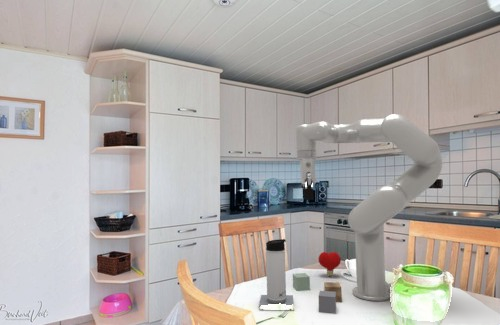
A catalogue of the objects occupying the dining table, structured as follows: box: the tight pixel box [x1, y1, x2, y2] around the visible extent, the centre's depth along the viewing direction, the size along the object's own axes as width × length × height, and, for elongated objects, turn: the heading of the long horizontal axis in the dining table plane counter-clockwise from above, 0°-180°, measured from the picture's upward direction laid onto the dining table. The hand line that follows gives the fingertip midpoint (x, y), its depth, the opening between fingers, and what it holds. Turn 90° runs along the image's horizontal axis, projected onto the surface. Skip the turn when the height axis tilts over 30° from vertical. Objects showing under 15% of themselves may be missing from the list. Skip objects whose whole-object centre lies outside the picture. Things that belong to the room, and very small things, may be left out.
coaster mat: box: [258, 294, 295, 307], centre depth 105 cm, size 11×11×1 cm
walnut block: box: [323, 281, 343, 303], centre depth 108 cm, size 5×5×5 cm
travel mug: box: [265, 238, 287, 304], centre depth 106 cm, size 6×7×20 cm
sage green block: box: [292, 272, 311, 292], centre depth 120 cm, size 5×5×5 cm
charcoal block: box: [318, 290, 337, 315], centre depth 100 cm, size 5×5×5 cm
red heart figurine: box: [318, 251, 342, 277], centre depth 135 cm, size 9×7×10 cm
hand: (308, 199), depth 126 cm, fingers open, 9 cm apart
